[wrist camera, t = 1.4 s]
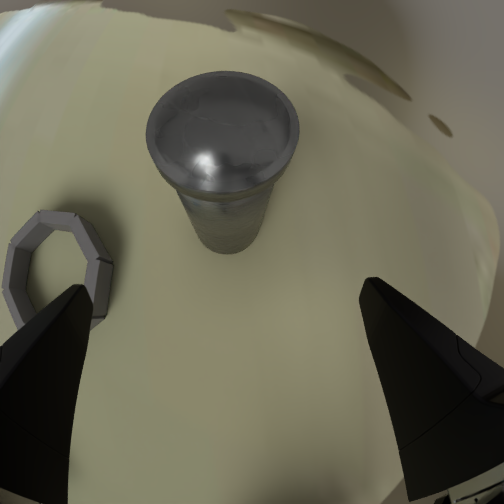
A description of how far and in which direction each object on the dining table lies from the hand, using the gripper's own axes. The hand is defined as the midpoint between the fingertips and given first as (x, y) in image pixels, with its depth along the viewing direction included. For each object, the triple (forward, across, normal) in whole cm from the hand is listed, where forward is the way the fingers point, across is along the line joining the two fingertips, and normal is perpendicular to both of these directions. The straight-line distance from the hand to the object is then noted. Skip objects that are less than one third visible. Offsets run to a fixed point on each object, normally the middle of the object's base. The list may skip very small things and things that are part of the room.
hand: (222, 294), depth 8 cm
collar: (+10, +14, +8) cm, 19 cm away
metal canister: (+13, 0, +4) cm, 13 cm away
